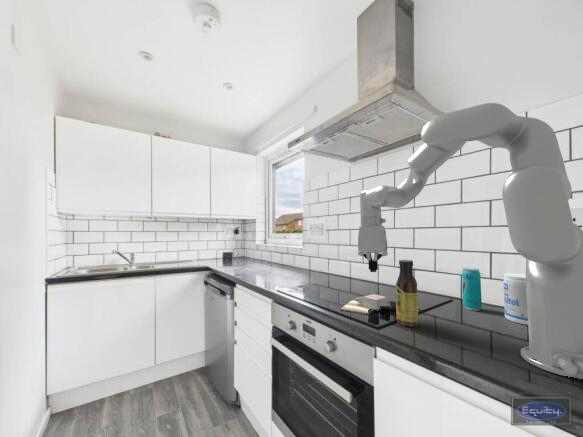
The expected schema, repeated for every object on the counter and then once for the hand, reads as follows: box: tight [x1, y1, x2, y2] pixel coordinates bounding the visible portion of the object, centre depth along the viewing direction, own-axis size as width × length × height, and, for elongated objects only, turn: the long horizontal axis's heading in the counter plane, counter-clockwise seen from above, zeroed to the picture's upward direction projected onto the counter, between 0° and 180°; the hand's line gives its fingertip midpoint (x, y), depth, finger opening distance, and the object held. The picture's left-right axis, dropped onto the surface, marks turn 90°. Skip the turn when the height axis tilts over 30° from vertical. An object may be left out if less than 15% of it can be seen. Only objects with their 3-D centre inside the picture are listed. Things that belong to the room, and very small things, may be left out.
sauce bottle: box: [395, 259, 419, 328], centre depth 79 cm, size 7×6×20 cm
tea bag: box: [354, 293, 388, 311], centre depth 97 cm, size 4×7×10 cm
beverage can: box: [461, 267, 483, 312], centre depth 95 cm, size 6×6×15 cm
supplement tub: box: [503, 272, 528, 326], centre depth 81 cm, size 10×10×15 cm
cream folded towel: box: [339, 299, 370, 315], centre depth 96 cm, size 14×11×1 cm
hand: (373, 271), depth 94 cm, fingers closed
